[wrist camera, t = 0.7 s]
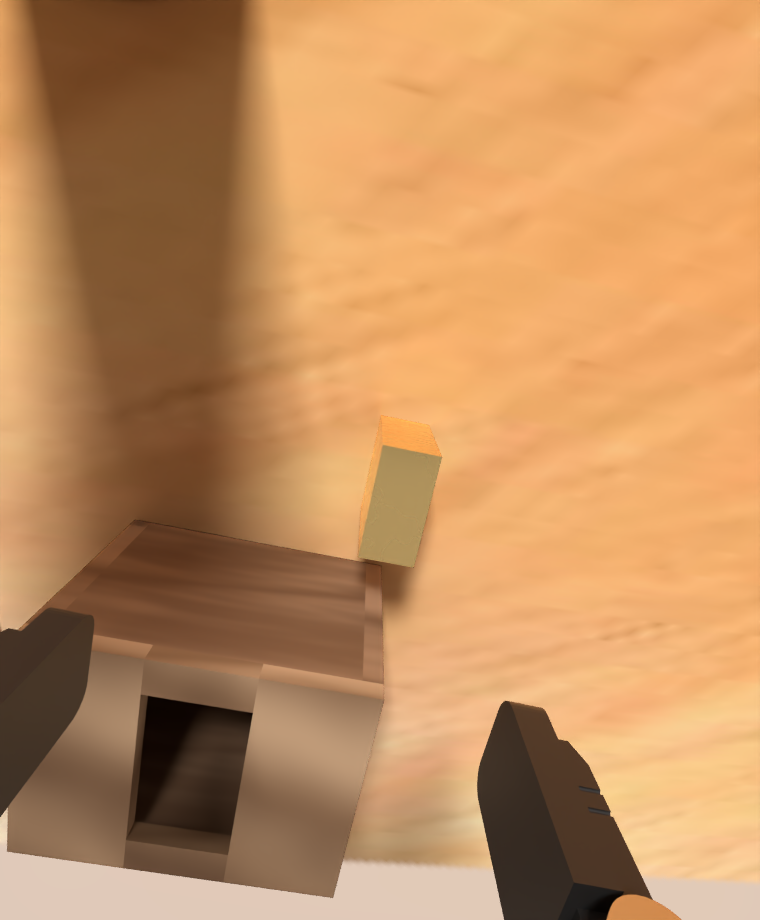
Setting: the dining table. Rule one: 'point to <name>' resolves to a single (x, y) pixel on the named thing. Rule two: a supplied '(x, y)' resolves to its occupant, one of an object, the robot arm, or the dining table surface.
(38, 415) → the dining table surface
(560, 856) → the robot arm
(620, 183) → the dining table surface
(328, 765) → the walnut tissue box
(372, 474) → the yellow wooden block
